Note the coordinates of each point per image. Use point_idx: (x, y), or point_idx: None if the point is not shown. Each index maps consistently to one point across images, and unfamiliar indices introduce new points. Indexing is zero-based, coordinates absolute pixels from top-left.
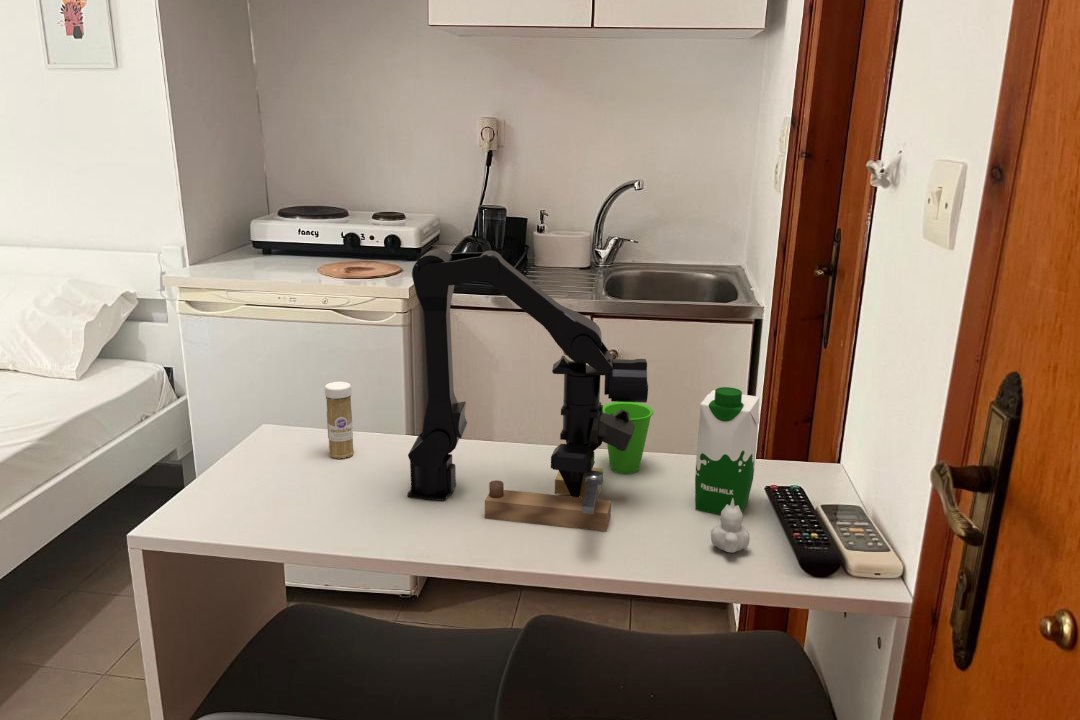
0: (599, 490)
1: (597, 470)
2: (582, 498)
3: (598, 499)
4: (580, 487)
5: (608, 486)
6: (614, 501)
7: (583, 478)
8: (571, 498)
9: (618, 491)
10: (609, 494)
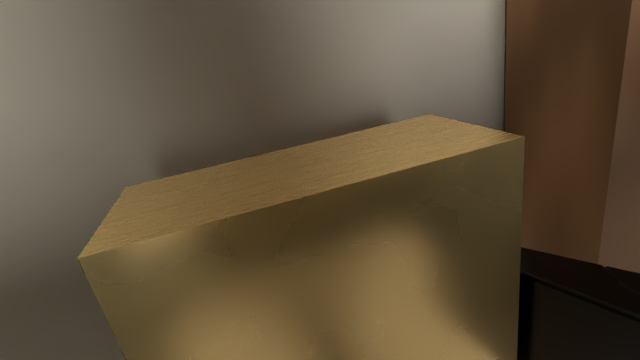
0: (374, 135)
1: (197, 291)
2: (618, 178)
3: (627, 59)
4: (551, 255)
5: (10, 158)
6: (260, 22)
7: (449, 310)
8: (624, 240)
9: (55, 45)
10: (160, 98)
